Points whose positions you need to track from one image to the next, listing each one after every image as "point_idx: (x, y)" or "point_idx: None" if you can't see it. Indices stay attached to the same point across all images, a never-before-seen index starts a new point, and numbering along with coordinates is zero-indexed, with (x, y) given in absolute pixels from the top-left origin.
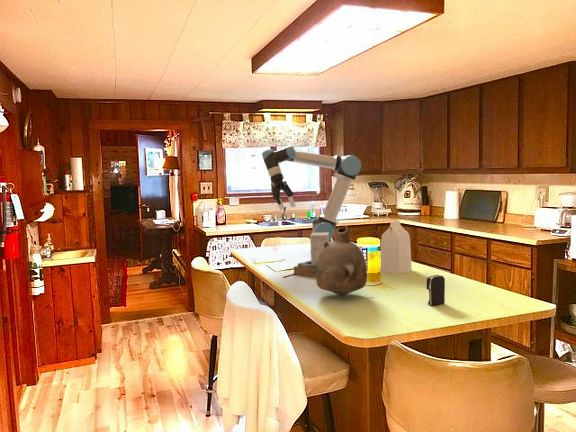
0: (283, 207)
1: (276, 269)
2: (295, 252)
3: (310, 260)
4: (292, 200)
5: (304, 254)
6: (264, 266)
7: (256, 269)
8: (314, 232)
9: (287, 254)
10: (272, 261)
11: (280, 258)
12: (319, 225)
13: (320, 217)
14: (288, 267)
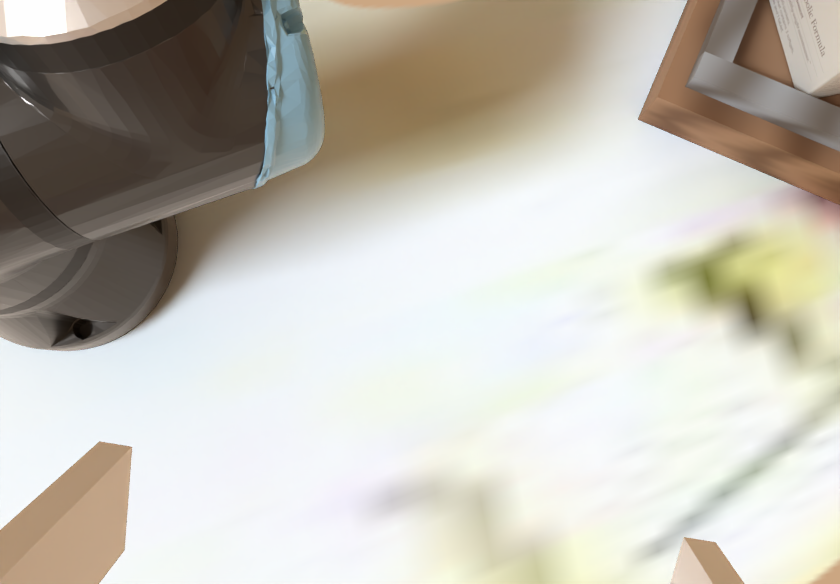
0: (729, 565)
1: (781, 408)
2: None
3: (795, 117)
4: (31, 566)
5: (144, 389)
6: None
7: (823, 569)
8: (272, 173)
9: (162, 548)
10: (497, 564)
11: (357, 543)
12: (311, 51)
13: (178, 4)
14: (691, 341)
